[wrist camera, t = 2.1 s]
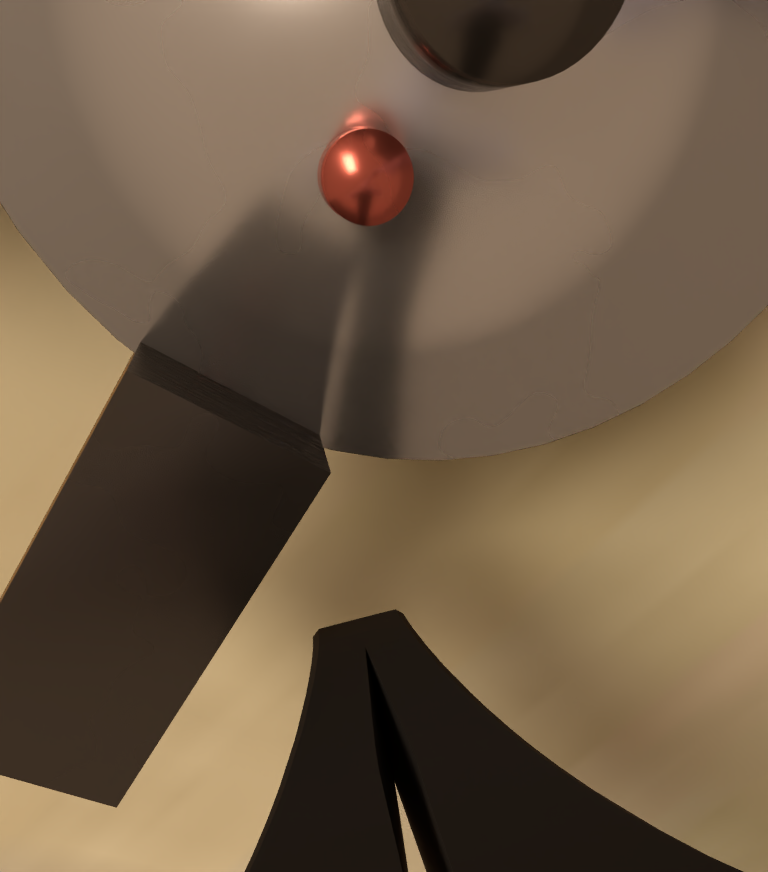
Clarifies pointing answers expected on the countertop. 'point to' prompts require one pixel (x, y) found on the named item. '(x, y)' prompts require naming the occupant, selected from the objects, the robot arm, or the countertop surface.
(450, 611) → the countertop surface
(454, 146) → the lid
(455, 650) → the countertop surface
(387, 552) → the countertop surface
